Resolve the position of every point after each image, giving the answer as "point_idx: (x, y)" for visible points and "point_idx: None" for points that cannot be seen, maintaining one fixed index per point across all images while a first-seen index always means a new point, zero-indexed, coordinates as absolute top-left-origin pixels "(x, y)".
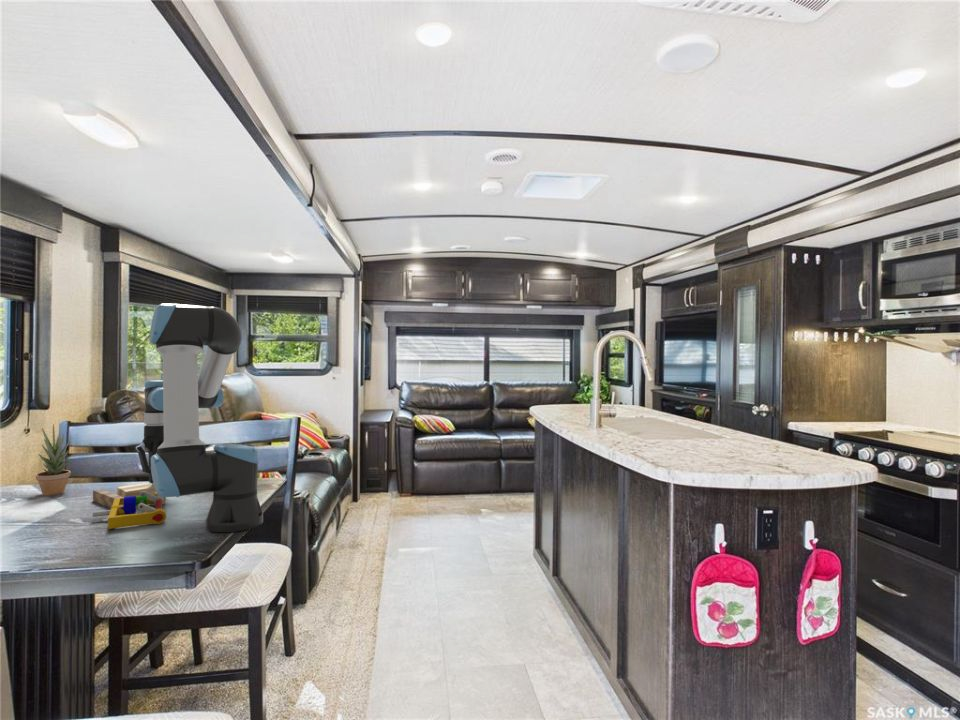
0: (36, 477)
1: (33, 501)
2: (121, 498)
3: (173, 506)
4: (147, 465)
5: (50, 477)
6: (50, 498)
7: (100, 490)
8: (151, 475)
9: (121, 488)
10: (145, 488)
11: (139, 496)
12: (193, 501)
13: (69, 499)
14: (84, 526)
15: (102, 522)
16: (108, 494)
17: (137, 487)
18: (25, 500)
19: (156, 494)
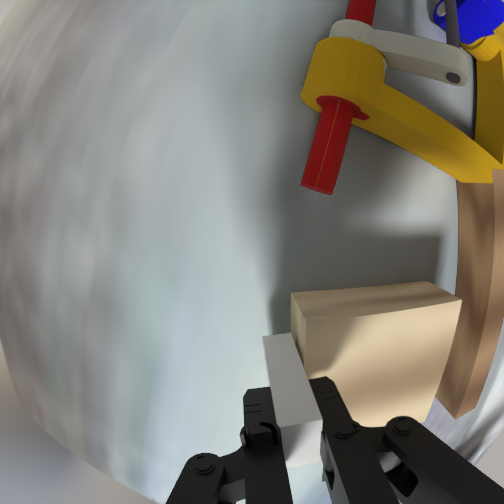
0: None
1: (487, 431)
2: (499, 163)
3: (277, 23)
4: (434, 468)
5: None
6: (463, 447)
7: (470, 396)
8: (344, 418)
9: (433, 388)
10: (371, 320)
11: (448, 124)
12: (157, 54)
13: (460, 427)
14: None
15: None
16: (500, 300)
17: (384, 376)
18: (484, 442)
19: (374, 68)
